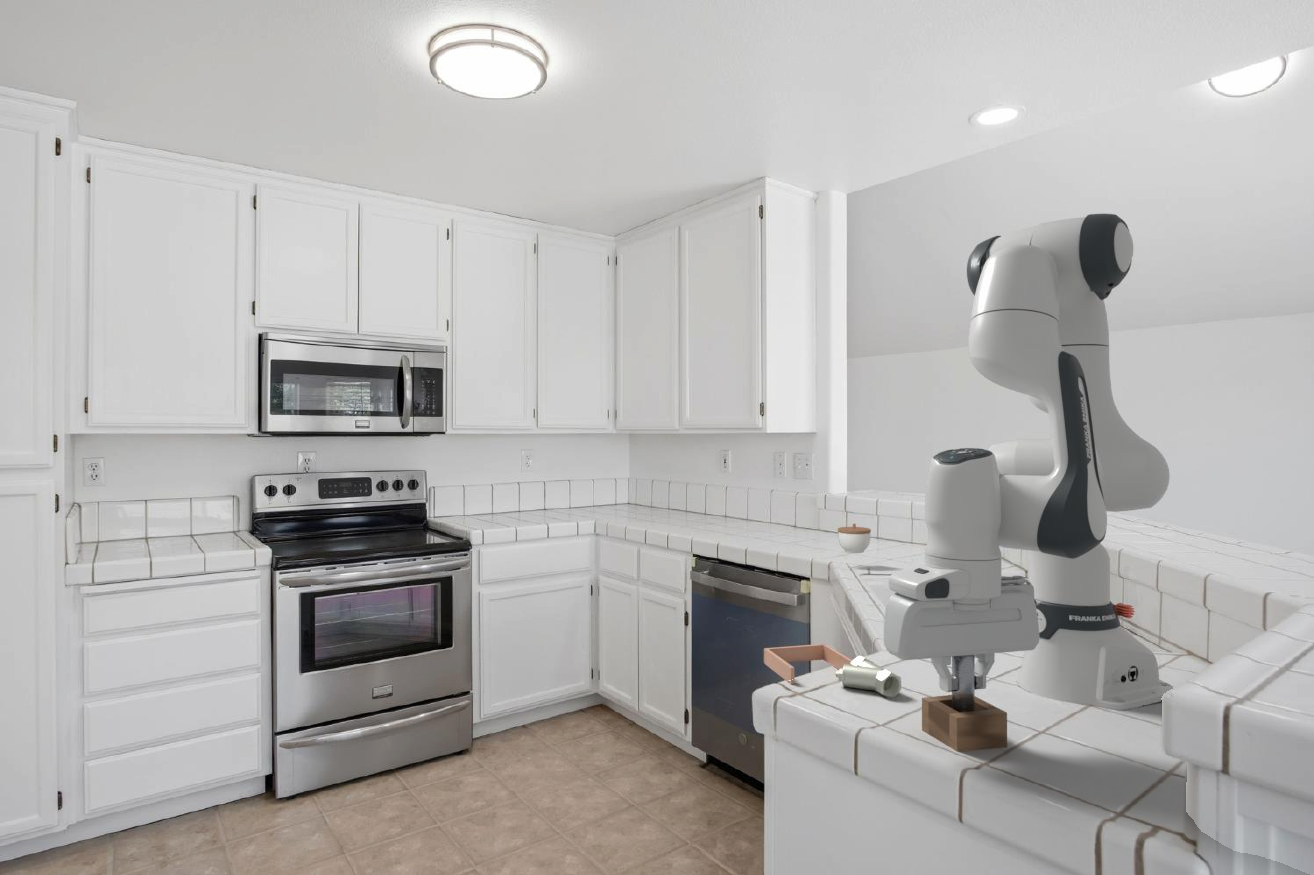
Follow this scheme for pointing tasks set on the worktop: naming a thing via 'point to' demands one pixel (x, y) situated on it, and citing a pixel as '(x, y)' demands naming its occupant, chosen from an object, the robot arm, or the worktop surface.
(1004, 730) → the block
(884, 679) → the pipe fitting
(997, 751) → the worktop surface
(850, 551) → the lidded jar
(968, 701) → the cylinder
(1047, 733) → the worktop surface
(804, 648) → the corral
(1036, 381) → the robot arm
